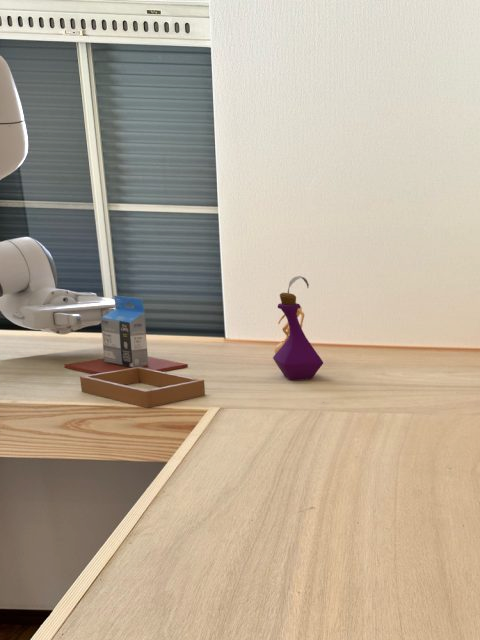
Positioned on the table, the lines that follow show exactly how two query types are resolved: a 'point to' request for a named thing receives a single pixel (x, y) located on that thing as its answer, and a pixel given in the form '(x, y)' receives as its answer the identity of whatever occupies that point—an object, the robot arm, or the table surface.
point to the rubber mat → (102, 366)
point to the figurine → (288, 328)
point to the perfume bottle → (296, 343)
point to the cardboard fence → (116, 389)
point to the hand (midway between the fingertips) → (99, 318)
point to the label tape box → (125, 333)
